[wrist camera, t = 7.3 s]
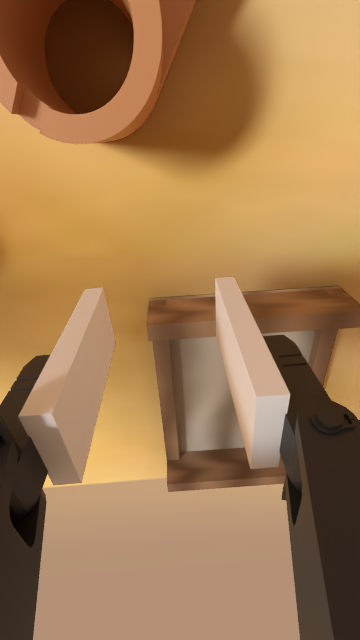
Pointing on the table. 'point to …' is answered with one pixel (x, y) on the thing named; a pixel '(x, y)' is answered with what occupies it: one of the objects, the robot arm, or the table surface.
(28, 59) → the bracket
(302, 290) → the wooden window with sill
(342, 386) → the table surface
